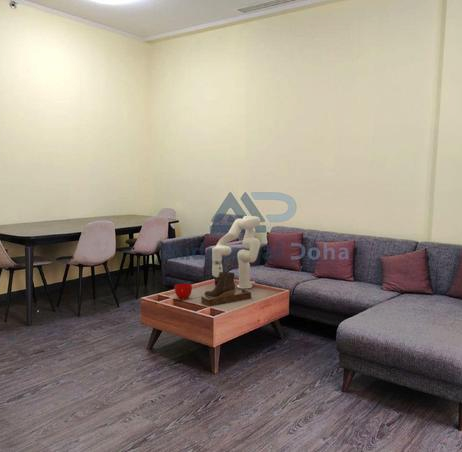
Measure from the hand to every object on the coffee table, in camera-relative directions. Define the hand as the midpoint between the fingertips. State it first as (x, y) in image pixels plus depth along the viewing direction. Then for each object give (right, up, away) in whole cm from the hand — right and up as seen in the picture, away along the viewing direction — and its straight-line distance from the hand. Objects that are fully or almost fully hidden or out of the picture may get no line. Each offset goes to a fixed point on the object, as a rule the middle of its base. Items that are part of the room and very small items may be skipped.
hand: (217, 285), depth 358 cm
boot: (+3, -8, -10) cm, 13 cm away
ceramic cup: (-24, -9, -14) cm, 30 cm away
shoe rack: (+9, -9, -19) cm, 23 cm away
